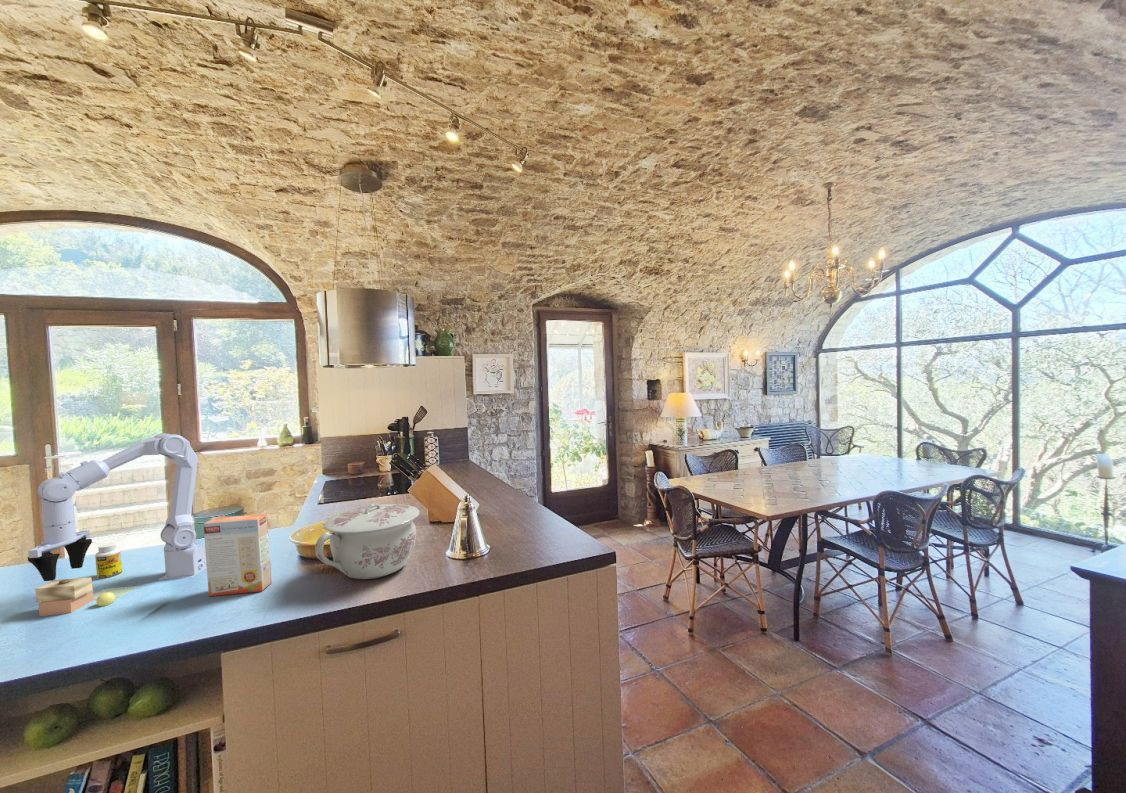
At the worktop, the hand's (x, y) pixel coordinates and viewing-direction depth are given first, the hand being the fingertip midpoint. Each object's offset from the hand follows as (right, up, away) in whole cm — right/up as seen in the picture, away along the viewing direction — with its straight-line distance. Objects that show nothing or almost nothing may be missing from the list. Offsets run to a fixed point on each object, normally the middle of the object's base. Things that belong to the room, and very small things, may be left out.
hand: (63, 574), depth 121 cm
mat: (+4, -9, +9) cm, 13 cm away
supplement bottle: (-8, -9, +21) cm, 25 cm away
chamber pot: (+74, -7, +20) cm, 77 cm away
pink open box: (0, -10, +1) cm, 10 cm away
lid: (0, -6, 0) cm, 6 cm away
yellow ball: (+9, -10, +2) cm, 13 cm away
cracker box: (+40, -8, +9) cm, 42 cm away
